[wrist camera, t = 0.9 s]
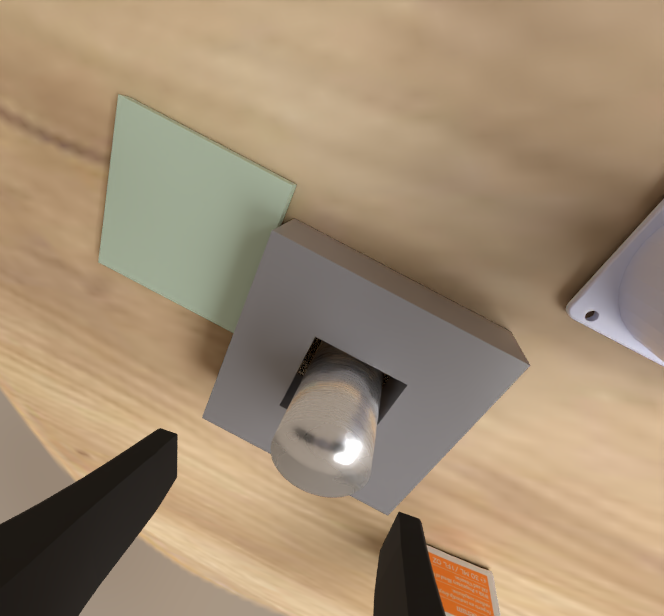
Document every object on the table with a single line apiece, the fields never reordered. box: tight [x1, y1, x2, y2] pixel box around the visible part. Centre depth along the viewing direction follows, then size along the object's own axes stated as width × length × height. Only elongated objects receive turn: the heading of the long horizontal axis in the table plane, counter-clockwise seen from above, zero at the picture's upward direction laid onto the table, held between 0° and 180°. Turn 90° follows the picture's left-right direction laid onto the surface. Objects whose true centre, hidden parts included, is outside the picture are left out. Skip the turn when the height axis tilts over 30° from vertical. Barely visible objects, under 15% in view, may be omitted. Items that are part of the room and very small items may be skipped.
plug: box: [271, 341, 384, 497], centre depth 16 cm, size 4×4×7 cm
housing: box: [202, 219, 530, 515], centre depth 18 cm, size 12×12×3 cm
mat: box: [98, 94, 297, 333], centre depth 18 cm, size 9×9×1 cm
